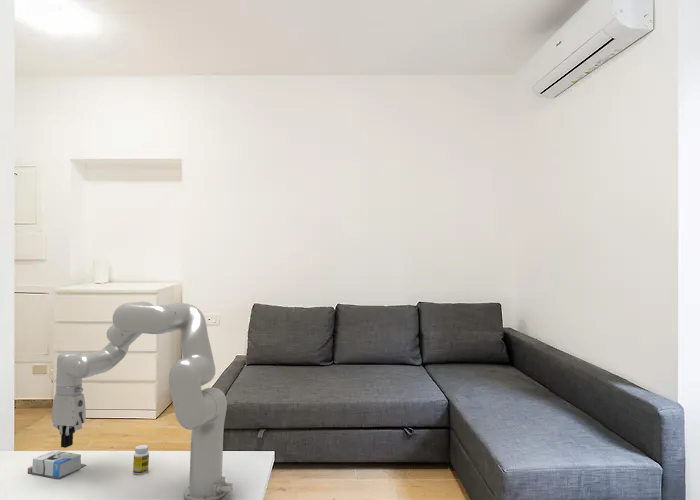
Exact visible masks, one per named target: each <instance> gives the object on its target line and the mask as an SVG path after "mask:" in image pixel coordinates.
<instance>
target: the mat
mask: <svg viewBox="0 0 700 500" xmlns="http://www.w3.org/2000/svg"><path fill="white" fill-rule="evenodd" d="M86 466H87V464H85V463H81V468H80V469H82V468H85V467H86ZM32 467H33V465H31V466H29V467H27V474H28V475H33V476H34V475H35V476H40V477H45V478H46V477H47V478H53V479H58V480H60V479H61V478H64V477H66V476H68V475H71V474H72V473H74V472H75V471H73V472H71V473H69V474H67V475H64V476H62V477H60V478H58V477H53V476H48V475H43V474H38V473H33V472H32ZM80 469H78V470H77V471H79V470H80Z"/></svg>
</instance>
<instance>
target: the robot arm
mask: <svg viewBox="0 0 700 500" xmlns="http://www.w3.org/2000/svg"><path fill="white" fill-rule="evenodd" d="M112 314H113V315H112V324H111V325H110V327H108V329H107V331H106V338H107V340H108V344H107V345H105V346H104V347H103V348H102V349H100V350H97V351H96V350H95V351H92V352H88V353H84V354H83V353H82V352H79V351H65V352H62V353H59V354H58V355H57V357H56V358H57V359H56V375H55V376H56V378H55V381H56V383H55V394H54V396H53V401H52V406H51V407H52V408H51V424H52V426H53V427H54V428H55V429H58V431H59V435H60V448H64V449H66V448H68V447H71V446H73V445H74V444H73V443H74V442H73V441H74V440H73V439H74V433H75V432H76V431H79V430H82V429H83V424H84V423H86V420H87V418H86V415H87V412H86V411H87V410H86V399H85V394H84V393H83V391H84V388H83V379H86V378H90V377H93V376H97V375H99V374H104V373H106V372H109V371H110V370H112V369H113V368H114V367H115V366H117V365H118V364H119V363H120V362H121V361H122V360H123V359H124V358H125V357H126V355H127V354H128V351H129V348H130V346H131V345H132V343H134V341H136V340H137V339H138V338H139V337H140V336H141V335H142V334H145V335H146V334H148V335H162V334H163V335H164V334H166V333H171V332H172V333H173V332H176V331H181V335H180V349H181V353H182V358H181V359H179V360H177V361H175V363H173V365H172V366H171V368H170V370H169V374H168V384H169V390H170V394H171V395H170V396H171V400H172V404H173V409H174V414H175V417H176V420H177V421H178V424H179V425H180V426H181V427H183V428H184V429H185V430H189V431H191V435H190V455H189V457H190V460H189V463H190V464H189V485H188V486H187V487H186V488H184V491H183V497H184V499H185V500H220V499H221V498H223V497H224V496H225V495H226V494H232V492H233V485H234V484H233V483H231V482H227V481H226V476H223V453H224V431H225V430H224V427H225V420H226V415H227V414H226V413H227V410H228V408H227V407H228V401H227V398H226V395H225V393H224V391H222V390H221V389H219V388H217V387H211V386H210V387H207V388H206V387H205V388H203V389H202V386H204V385H206V384H208V383H210V382H211V381H212V380H213V379H214V378H215V376H216V365H215V360H214V356H213V351H212V346H211V343H210V340H209V334H208V326H207V321H206V318H205V315H204V314H203V312H202V311H201V309H199V307H197V306H195V305H193V304H189V303H180V302H179V303H170V304H169V303H168V304H162V305H161V304H160V305H153V303H151V302H148V301H135V302H127V303H122V304H120V305H119V306H117V308H116V309H115V310H114V312H113V313H112Z"/></svg>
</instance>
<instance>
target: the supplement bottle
mask: <svg viewBox="0 0 700 500" xmlns="http://www.w3.org/2000/svg"><path fill="white" fill-rule="evenodd" d="M134 451H135V452H134V454H133V464H132V465H133V466H132V469H133V470H132V474H134V475H135V476H138V475H139V476H141V475H144V474H147V473H148V472H149V465H150V463H149V462H150V461H149V460H150V452H149V445H148V444H140V445H136V446H135V448H134Z"/></svg>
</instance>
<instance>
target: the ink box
mask: <svg viewBox="0 0 700 500" xmlns="http://www.w3.org/2000/svg"><path fill="white" fill-rule="evenodd" d="M81 459H82V454H80V453H76V452H75V453H74V452H69V451H64V450H63V451H62V450H56V449H54V450H50V451H48V452H46V453H44V454H41V455H38V456H35V457H33V459H32V466H33V467H32V472H33V473H38V474H43V475H48V476H53V477H58V478H60V477H62V476H64V475H66V476H68V475H70V474H72V473H74V472H77V471H79V470H80V468H81V464H82V463H81V462H82V460H81ZM78 469H79V470H78ZM81 469H82V468H81ZM73 471H74V472H73ZM71 472H72V473H71ZM69 473H70V474H69ZM67 474H68V475H67ZM64 477H65V476H64ZM62 478H63V477H62ZM60 479H61V478H60Z"/></svg>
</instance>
